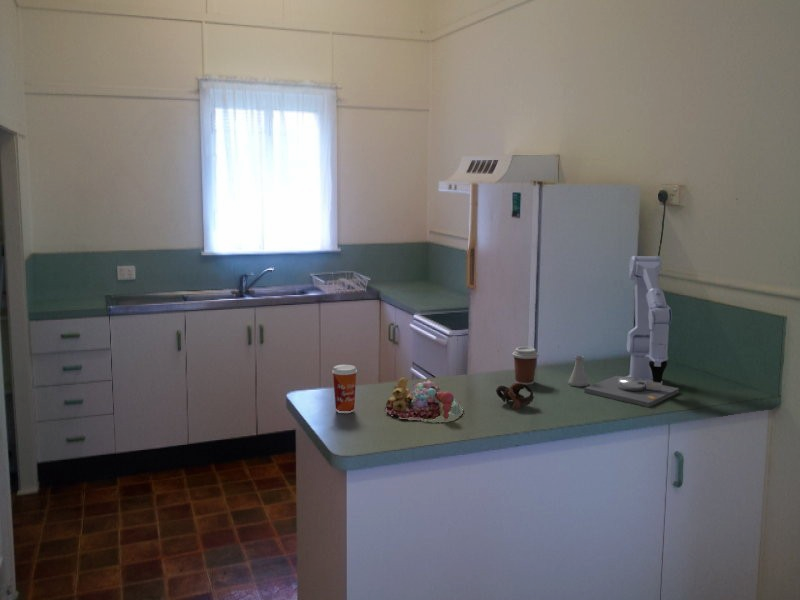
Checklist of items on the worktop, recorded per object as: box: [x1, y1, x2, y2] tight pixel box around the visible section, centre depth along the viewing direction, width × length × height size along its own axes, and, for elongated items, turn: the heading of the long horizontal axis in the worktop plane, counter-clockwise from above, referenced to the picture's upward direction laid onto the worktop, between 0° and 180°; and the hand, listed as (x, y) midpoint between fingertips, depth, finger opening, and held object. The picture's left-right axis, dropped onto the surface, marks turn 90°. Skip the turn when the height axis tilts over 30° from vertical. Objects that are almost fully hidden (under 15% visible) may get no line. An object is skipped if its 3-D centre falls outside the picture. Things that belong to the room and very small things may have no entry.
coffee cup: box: [511, 346, 540, 386], centre depth 267 cm, size 9×9×12 cm
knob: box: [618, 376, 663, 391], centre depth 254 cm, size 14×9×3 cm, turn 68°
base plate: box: [584, 375, 680, 408], centre depth 256 cm, size 22×23×2 cm
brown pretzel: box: [495, 382, 535, 410], centre depth 241 cm, size 12×10×8 cm
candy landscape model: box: [385, 376, 463, 421], centre depth 236 cm, size 25×24×9 cm
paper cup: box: [331, 364, 358, 411], centre depth 234 cm, size 8×8×14 cm
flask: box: [567, 355, 590, 387], centre depth 264 cm, size 7×7×10 cm
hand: (657, 383), depth 253 cm, fingers closed, pressing on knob
